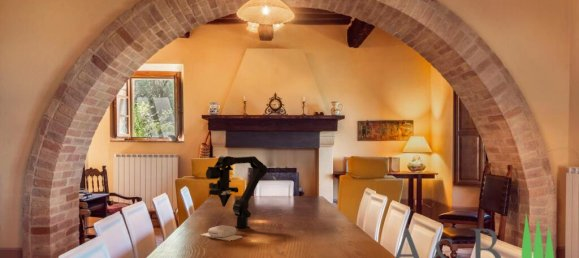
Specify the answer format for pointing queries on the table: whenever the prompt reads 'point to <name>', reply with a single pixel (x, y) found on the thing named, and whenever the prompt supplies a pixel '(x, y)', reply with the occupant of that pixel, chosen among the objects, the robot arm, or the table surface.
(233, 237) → the beige flat sheet
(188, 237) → the table surface
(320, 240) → the table surface
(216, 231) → the photo printer
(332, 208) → the table surface
